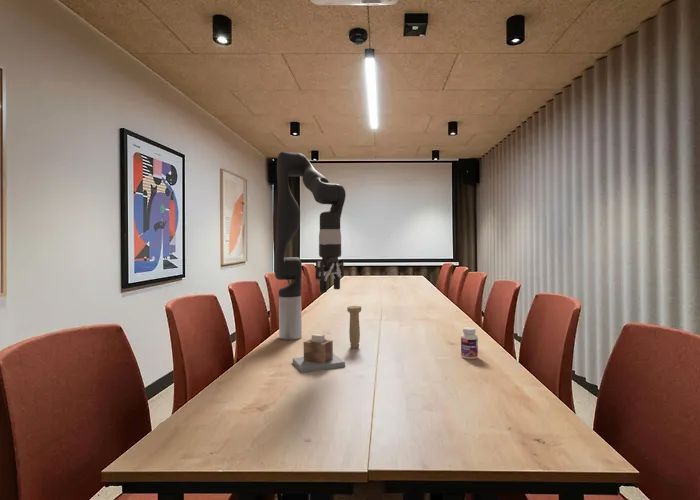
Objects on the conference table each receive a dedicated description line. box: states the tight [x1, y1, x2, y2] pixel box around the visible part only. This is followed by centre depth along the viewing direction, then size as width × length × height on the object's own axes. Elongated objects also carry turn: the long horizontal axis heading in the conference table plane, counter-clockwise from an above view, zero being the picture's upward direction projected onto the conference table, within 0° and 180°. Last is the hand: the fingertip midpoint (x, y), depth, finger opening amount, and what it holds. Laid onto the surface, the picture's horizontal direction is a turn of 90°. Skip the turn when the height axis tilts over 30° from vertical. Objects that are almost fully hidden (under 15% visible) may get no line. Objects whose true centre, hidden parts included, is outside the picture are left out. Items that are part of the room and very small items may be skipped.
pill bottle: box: [460, 326, 479, 360], centre depth 137 cm, size 5×5×10 cm
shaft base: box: [292, 333, 346, 373], centre depth 130 cm, size 11×14×10 cm
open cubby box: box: [303, 338, 334, 364], centre depth 130 cm, size 7×6×6 cm
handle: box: [346, 305, 362, 349], centre depth 152 cm, size 5×6×15 cm
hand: (330, 290), depth 138 cm, fingers open, 8 cm apart
